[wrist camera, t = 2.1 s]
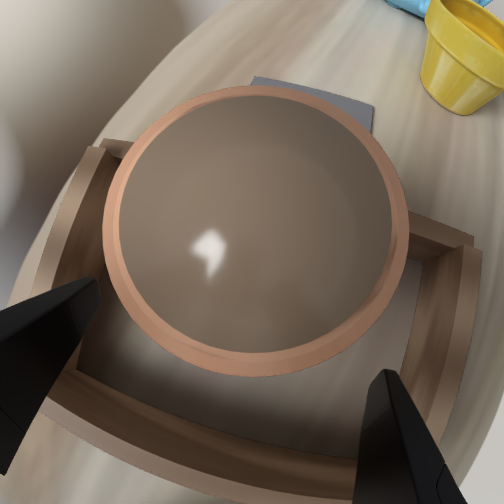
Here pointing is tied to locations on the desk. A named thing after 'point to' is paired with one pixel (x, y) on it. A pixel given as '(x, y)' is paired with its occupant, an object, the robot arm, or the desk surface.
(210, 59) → the desk surface
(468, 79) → the plant pot
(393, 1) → the decorative pot
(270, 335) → the terracotta pot
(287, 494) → the frame
